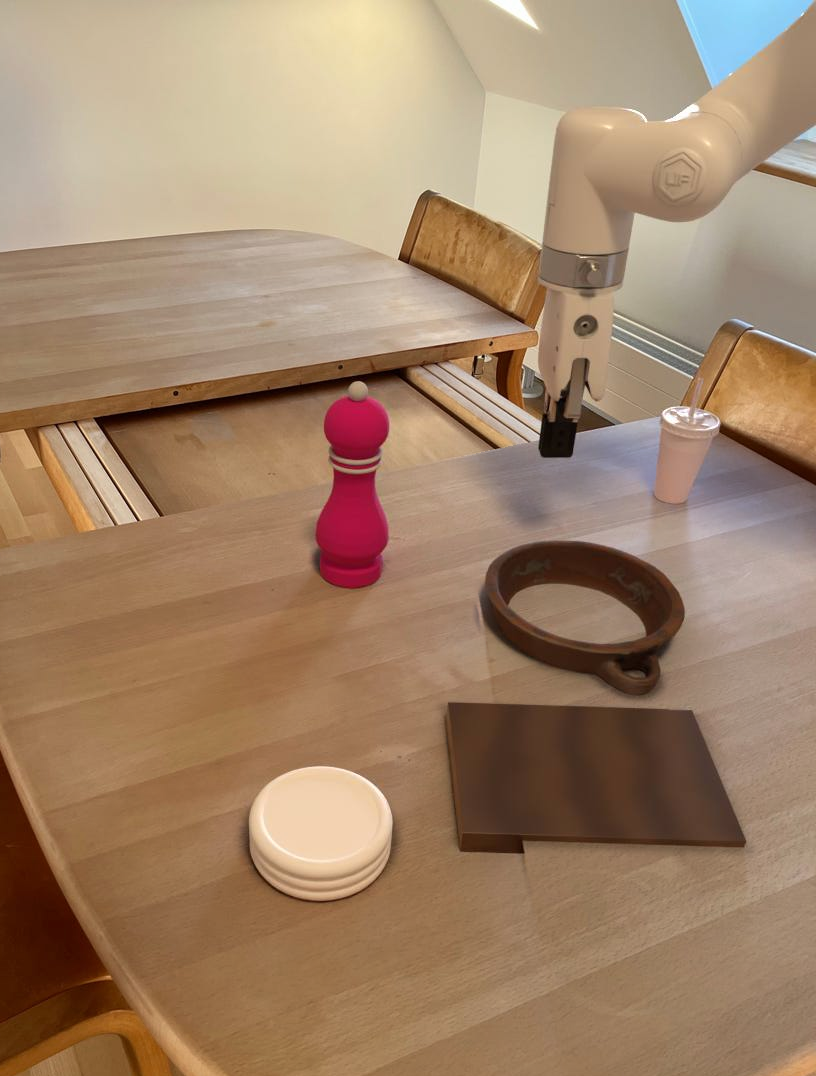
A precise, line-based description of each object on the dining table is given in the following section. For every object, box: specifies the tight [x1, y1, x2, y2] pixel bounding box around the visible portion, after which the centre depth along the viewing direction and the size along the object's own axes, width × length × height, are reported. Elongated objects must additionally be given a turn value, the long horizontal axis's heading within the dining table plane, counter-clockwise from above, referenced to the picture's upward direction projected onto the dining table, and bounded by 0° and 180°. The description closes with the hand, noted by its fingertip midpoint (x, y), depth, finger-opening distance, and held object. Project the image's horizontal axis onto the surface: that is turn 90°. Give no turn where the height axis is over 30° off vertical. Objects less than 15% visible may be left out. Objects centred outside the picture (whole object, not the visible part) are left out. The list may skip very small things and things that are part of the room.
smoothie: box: [653, 377, 722, 505], centre depth 108 cm, size 6×6×14 cm
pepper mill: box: [314, 380, 390, 589], centre depth 92 cm, size 7×7×20 cm
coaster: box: [248, 765, 394, 902], centre depth 68 cm, size 10×10×4 cm
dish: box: [484, 540, 686, 696], centre depth 89 cm, size 18×22×5 cm
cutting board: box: [445, 701, 747, 854], centre depth 74 cm, size 20×14×2 cm
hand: (554, 453), depth 97 cm, fingers closed
